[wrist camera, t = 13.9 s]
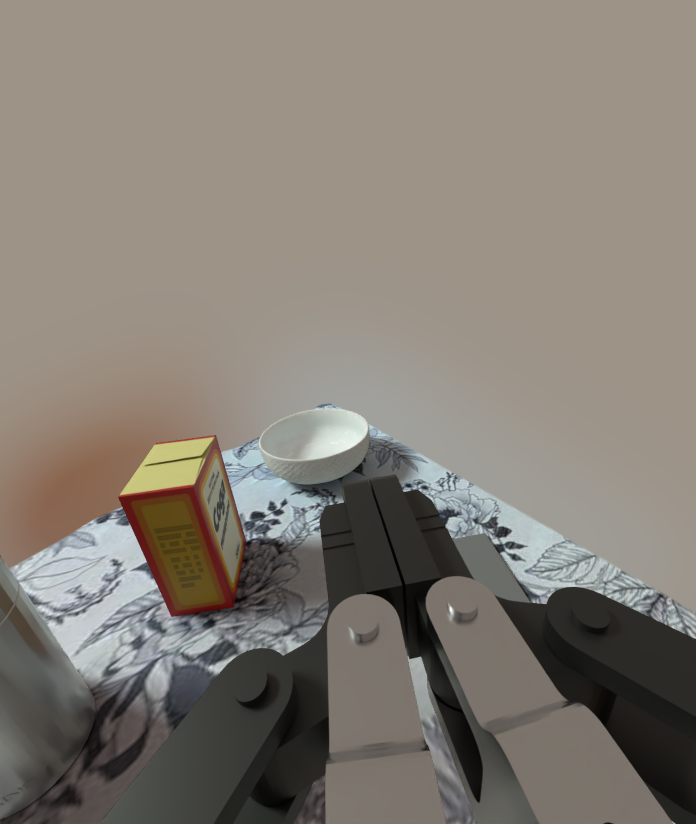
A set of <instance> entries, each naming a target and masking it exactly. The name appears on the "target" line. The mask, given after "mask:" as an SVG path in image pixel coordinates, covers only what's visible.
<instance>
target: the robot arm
mask: <svg viewBox="0 0 696 824" xmlns="http://www.w3.org/2000/svg"><path fill="white" fill-rule="evenodd" d="M342 492H343V499H344V503H339V504H333V505H328V506H325V509H324V511H323V513H322V516H321V518H320V529H321V537H322V546H323V555H324V564H325V573H326V582H327V590H328V599H329V610H328V615H327V618H326V621H325V623H324V625H323V626H322V628H321V629H320V631H319V632H318V633H317V634H316V635H315V636H314V637H313V638H312V639H311V640H310V641H308V642H307V643H305V644H304V645H302V646H300V647H298V648H297V649H295V650H293V651H291V652H289V653H288V654H286V655H284V656H283V655H281V654H280V653H279V652H277V651H274V650H272V649H267V648H258V649H253V650H249V651H246V652H244V653H242V654H240V655H239V656H237V657H236V658H234V659H233V660H232V661H231V662H230V663H228V664H227V665H226V667H225V668H224V669H223V670H222V671H221V672H220V674H219V675H218V676H217V677H216V679H215V680H214V681H213V682H212V684H211V685H210V686H209V687H208V689H207V690H206V691H205V692H204V694H203V695H202V696H201V697H200V699H199V700H198V701H197V702H196V704H195V705H194V706H193V707H192V709H191V710H190V711H189V712H188V714H187V715H186V716H185V717H184V719H183V720H182V721H181V722H180V724H179V725H178V726H177V727H176V729H175V730H174V731H173V733H172V734H171V735H170V736H169V738H168V739H167V740H166V741H165V743H164V744H163V745H162V746H161V748H160V749H159V750H158V751H157V753H156V754H155V755H154V756H153V758H152V759H151V760H150V761H149V763H148V764H147V765H146V766H145V768H144V769H143V770H142V771H141V773H140V774H139V775H138V776H137V778H136V779H135V780H134V781H133V783H132V784H131V785H130V786H129V788H128V789H127V790H126V791H125V793H124V794H123V795H122V796H121V798H120V799H119V800H118V801H117V803H116V804H115V805H114V806H113V808H112V809H111V810H110V811H109V813H108V814H107V815H106V816H105V818H104V819H103V820H102V821H101V823H100V824H293V823H294V821H295V819H296V817H297V815H298V813H299V811H300V809H301V807H302V805H303V803H304V801H305V799H306V797H307V795H308V793H309V791H310V788H311V786H312V783H313V782H314V781H316V780H317V779H319V778H320V777H321V776H323V775H324V774H326V775H325V810H326V824H446V821H445V816H444V812H443V807H442V802H441V797H440V793H439V788H438V783H437V779H436V774H435V770H434V765H433V761H432V757H431V754H430V750H429V747H428V745H427V744H426V742H425V739H424V735H423V731H422V726H421V722H420V717H419V712H418V707H417V702H416V697H415V692H414V687H413V683H412V678H411V673H410V668H409V663H408V658H407V653H406V648H407V652H408V655H409V659H412V658H417V657H422V661H423V664H424V667H425V670H426V673H427V687H428V694H429V697H430V700H431V703H432V705H433V708H434V711H435V713H436V716H437V719H438V721H439V724H440V726H441V729H442V732H443V734H444V737H445V740H446V742H447V745H448V748H449V750H450V753H451V756H452V758H453V761H454V763H455V766H456V769H457V771H458V774H459V777H460V779H461V782H462V785H463V787H464V790H465V792H466V795H467V798H468V800H469V803H470V806H471V809H472V813H473V816H474V820H475V824H673V823H672V821H673V822H674V823H675V824H696V639H694V638H692V637H690V636H688V635H686V634H684V633H682V632H680V631H678V630H675V629H673V628H671V627H669V626H667V625H665V624H663V623H661V622H659V621H656V620H654V619H652V618H650V617H648V616H646V615H644V614H642V613H640V612H638V611H635V610H633V609H631V608H629V607H627V606H625V605H623V604H621V603H619V602H616V601H614V600H612V599H610V598H608V597H606V596H604V595H602V594H600V593H597V592H595V591H592V590H589V589H585V588H579V587H567V588H562V589H559V590H557V591H555V592H554V593H553V594H552V595H551V596H550V597H549V599H548V601H547V604H537V603H528V602H518V601H511V600H507V599H503V598H500V597H498V596H495V595H494V594H493V593H492V592H491V591H490V590H489V589H488V588H487V587H486V586H484V585H483V584H482V583H480V582H478V581H476V580H475V579H474V578H473V576H472V575H471V573H470V571H469V570H468V568H467V566H466V564H465V562H464V560H463V558H462V556H461V555H460V553H459V551H458V549H457V547H456V545H455V543H454V541H453V540H452V538H451V536H450V534H449V532H448V530H447V529H446V528H445V525H444V523H443V521H442V519H441V517H439V513H438V512H437V510H436V508H435V506H434V504H433V502H432V500H430V499H429V498H428V497H427V496H425V495H424V494H423V493H421V492H420V491H419V490H413V491H407V492H403V490H402V487H401V485H400V483H399V481H398V478H397V476H396V475H390V476H384V477H379V478H373V479H369V481H368V480H361V481H356V482H350V483H344V484H342ZM95 714H96V705H95V700H94V697H93V694H92V692H91V691H90V689H89V688H88V686H87V685H86V683H85V682H84V680H83V679H82V677H81V676H80V674H79V673H78V671H77V670H76V668H75V667H74V665H73V663H72V662H71V660H70V659H69V657H68V656H67V654H66V653H65V651H64V650H63V648H62V647H61V645H60V644H59V642H58V641H57V639H56V638H55V636H54V635H53V633H52V632H51V630H50V629H49V627H48V626H47V624H46V623H45V621H44V620H43V618H42V617H41V615H40V614H39V612H38V611H37V609H36V608H35V606H34V605H33V603H32V602H31V600H30V599H29V597H28V596H27V594H26V593H25V591H24V590H23V588H22V587H21V585H20V584H19V582H18V581H17V579H16V578H15V577H14V575H13V574H12V572H11V571H10V569H9V568H8V566H7V565H6V563H5V562H4V560H3V559H2V557H1V556H0V819H4V818H7V817H9V816H11V815H12V814H14V813H16V812H18V811H20V810H22V809H24V808H25V807H27V806H28V805H29V804H31V803H32V802H34V801H35V800H37V799H38V798H39V797H41V796H42V795H43V794H44V793H45V792H46V791H47V790H48V789H50V788H51V787H52V786H53V785H54V784H55V783H56V782H57V781H58V780H59V779H60V778H61V776H62V775H63V774H64V773H65V772H66V771H67V770H68V769H69V767H70V766H71V764H72V763H73V762H74V760H75V759H76V758H77V756H78V755H79V753H80V752H81V750H82V748H83V746H84V745H85V743H86V741H87V739H88V737H89V734H90V732H91V729H92V727H93V723H94V718H95Z"/></svg>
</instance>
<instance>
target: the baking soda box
mask: <svg viewBox="0 0 696 824" xmlns="http://www.w3.org/2000/svg"><path fill="white" fill-rule="evenodd" d="M118 498H119V500H120V502H121V505H122V507H123V509H124V511H125V514H126V516H127V518H128V520H129V523H130V525H131V527H132V529H133V532H134V534H135V536H136V538H137V540H138V543H139V545H140V547H141V549H142V552H143V554H144V556H145V558H146V561H147V563H148V565H149V567H150V570H151V572H152V574H153V576H154V579H155V581H156V583H157V585H158V588H159V590H160V592H161V594H162V597H163V599H164V601H165V603H166V605H167V608H168V610H169V612H170V614H171V616H178V615H185V614H191V613H198V612H204V611H211V610H217V609H224V608H231V607H234V603H235V598H236V593H237V588H238V583H239V577H240V572H241V567H242V562H243V557H244V551H245V546H246V539H245V535H244V532H243V528H242V525H241V521H240V518H239V514H238V511H237V507H236V504H235V500H234V497H233V493H232V490H231V486H230V483H229V479H228V476H227V472H226V469H225V465H224V462H223V458H222V455H221V451H220V448H219V445H218V441H217V438H216V435H214V436H207V437H199V438H192V439H185V440H177V441H170V442H162V443H156V444H155V445H154V447H153V448H152V450H151V451H150V453H149V454H148V455H147V457H146V458H145V460H144V461H143V463H142V464H141V465H140V467H139V468H138V470H137V471H136V473H135V474H134V476H133V477H132V478H131V480H130V481H129V483H128V484H127V485H126V487H125V489H124V490H123V491H122V493H121V494H120V496H119V497H118Z"/></svg>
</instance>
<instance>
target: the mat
mask: <svg viewBox="0 0 696 824" xmlns="http://www.w3.org/2000/svg"><path fill="white" fill-rule="evenodd" d="M452 540H453V541H454V543H455V545H456V547H457V549H458V551H459V553H460V555H461V556H462V558H463V560H464V562H465V564H466V566H467V568H468V570H469V571H470V573H471V575H472V576H473V578H474V579H475V580H476V581H478V582H480V583H482V584H483V585H484V586H486V587H487V588H488V589H489V590H490V591H491V592H492V593H493V594H494V595H495V596H498V597H500V598H503V599H507V600H511V601H518V602H528V603H530V601H529V599H528V598H527V596H526V595H525V593H524V592H523V590H522V589H521V587H520V586H519V584H518V583H517V581H516V580H515V578H514V576H513V575H512V573H511V572H510V570H509V569H508V567H507V566H506V564H505V563H504V561H503V560H502V558H501V557H500V555H499V554H498V552H497V550H496V549H495V547H494V546H493V544H492V543H491V541H490V540H489V538H488V537H487V535H486V534H485V533H484V534H478V535H473V536H468V537H462V538H457V539H452Z"/></svg>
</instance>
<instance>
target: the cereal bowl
mask: <svg viewBox="0 0 696 824" xmlns="http://www.w3.org/2000/svg"><path fill="white" fill-rule="evenodd" d="M369 438H370V434H369V426H368V423H367V421H366V420H365V419H364V418H363V417H362V416H360V415H358V414H356V413H354V412H351V411H347V410H342V409H315V410H308V411H304V412H300V413H296V414H292V415H290V416H287V417H285V418H282V419H280V420H279V421H277V422H275V423H273V424H272V425H271V426H269V427H268V428H267V429H266V430H265V431H264V432H263V434H262V435H261V437H260V440H259V448H260V452H261V455H262V457H263V460H264V461H265V464H266V465H267V467H268V468H269V469H270V470H271V471H272V472H273V473H274V474H275V475H277V476H278V477H280V478H282V479H284V480H286V481H289V482H293V483H298V484H319V483H325V482H329V481H332V480H336V479H338V478H340V477H343V476H344V475H346V474H348V473H349V472H351V471H352V470H354V469H355V468H356V467H357V466H358V465H359V464H360V463H361V462H362V461H363V459H364V457H365V456H366V454H367V451H368V447H369V442H370V439H369Z"/></svg>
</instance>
